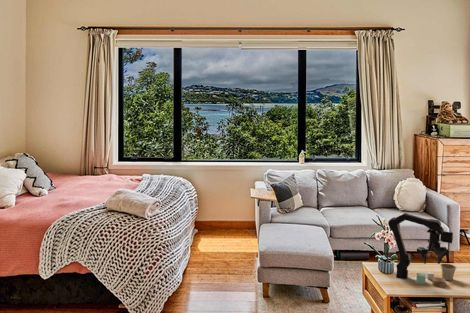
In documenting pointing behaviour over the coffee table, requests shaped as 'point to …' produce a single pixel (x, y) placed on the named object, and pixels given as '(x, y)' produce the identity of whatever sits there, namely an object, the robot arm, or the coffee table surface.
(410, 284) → the coffee table surface
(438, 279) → the walnut base block
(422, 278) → the teal block
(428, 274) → the grey block
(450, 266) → the flower pot
